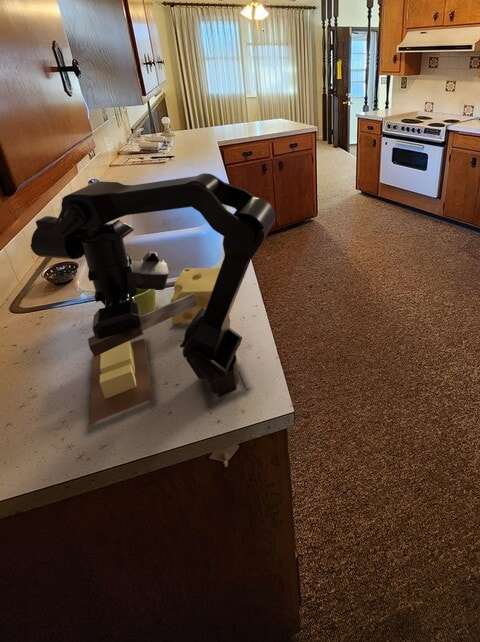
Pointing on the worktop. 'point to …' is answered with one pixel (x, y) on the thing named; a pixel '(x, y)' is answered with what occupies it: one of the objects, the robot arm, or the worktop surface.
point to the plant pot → (145, 300)
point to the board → (126, 399)
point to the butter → (117, 358)
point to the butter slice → (117, 381)
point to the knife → (143, 324)
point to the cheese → (194, 290)
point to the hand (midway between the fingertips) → (128, 332)
